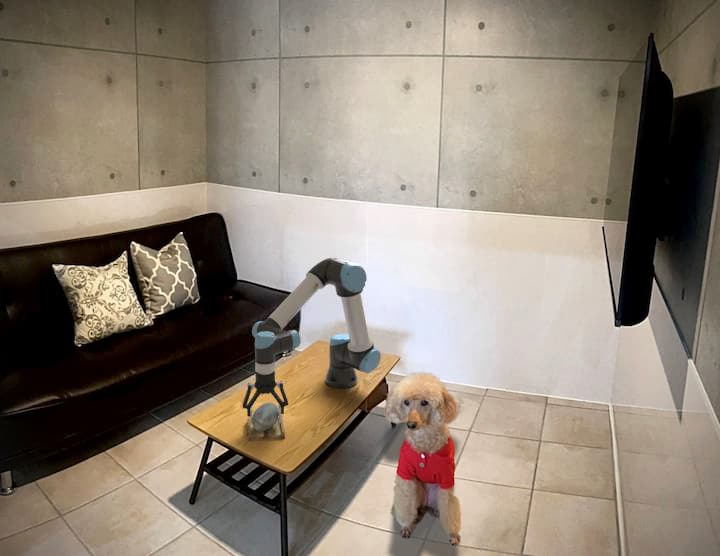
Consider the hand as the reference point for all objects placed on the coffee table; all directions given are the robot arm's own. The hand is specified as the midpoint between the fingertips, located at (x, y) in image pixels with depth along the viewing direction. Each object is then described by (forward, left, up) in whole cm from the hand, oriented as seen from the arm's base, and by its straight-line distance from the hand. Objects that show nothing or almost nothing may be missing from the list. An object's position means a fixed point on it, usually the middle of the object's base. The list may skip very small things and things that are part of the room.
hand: (265, 422), depth 244 cm
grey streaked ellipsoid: (0, 0, -2) cm, 2 cm away
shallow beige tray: (0, 0, -3) cm, 3 cm away
